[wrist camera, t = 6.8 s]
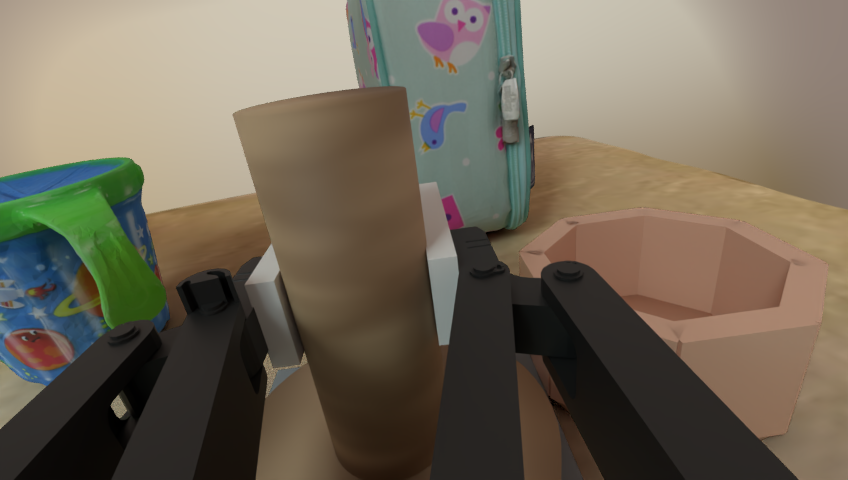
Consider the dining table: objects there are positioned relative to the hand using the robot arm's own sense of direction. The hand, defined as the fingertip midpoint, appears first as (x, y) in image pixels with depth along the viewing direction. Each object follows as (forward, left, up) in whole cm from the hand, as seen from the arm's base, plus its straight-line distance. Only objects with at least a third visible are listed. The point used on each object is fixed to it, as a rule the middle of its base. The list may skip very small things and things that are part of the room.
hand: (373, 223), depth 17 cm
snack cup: (-18, +6, -8) cm, 20 cm away
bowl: (+11, -1, -8) cm, 13 cm away
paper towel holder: (0, -5, -7) cm, 9 cm away
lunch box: (+4, +21, -8) cm, 23 cm away
